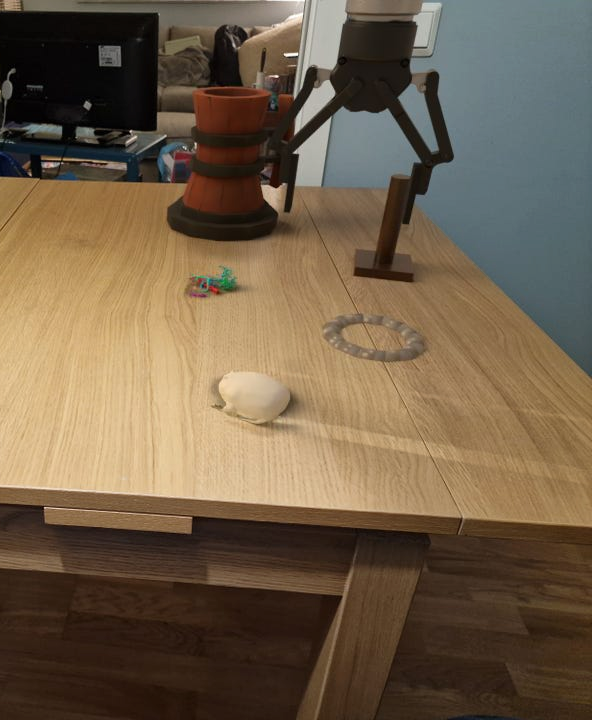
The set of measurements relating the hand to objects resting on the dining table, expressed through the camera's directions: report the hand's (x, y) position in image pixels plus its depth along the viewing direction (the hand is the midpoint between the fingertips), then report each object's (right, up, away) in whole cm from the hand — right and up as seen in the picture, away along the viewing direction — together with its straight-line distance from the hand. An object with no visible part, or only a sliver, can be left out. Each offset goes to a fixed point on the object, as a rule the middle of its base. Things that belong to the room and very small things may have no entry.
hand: (345, 215), depth 80 cm
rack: (+17, -2, +31) cm, 36 cm away
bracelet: (+6, -15, +7) cm, 17 cm away
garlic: (-12, -23, -5) cm, 27 cm away
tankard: (-5, +10, +54) cm, 55 cm away
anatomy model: (-14, -8, +22) cm, 27 cm away
